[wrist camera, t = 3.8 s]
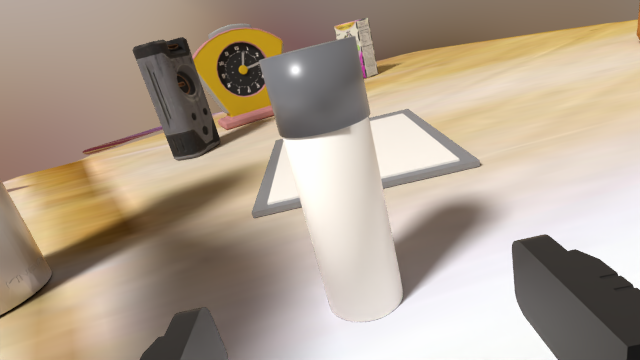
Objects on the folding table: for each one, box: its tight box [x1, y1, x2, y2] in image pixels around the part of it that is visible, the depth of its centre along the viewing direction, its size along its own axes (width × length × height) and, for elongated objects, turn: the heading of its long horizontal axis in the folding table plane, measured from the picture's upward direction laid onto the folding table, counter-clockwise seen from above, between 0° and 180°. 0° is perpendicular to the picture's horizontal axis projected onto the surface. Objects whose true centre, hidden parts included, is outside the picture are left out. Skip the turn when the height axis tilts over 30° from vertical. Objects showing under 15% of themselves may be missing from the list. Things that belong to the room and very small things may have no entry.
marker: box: [259, 36, 403, 322], centre depth 20 cm, size 5×5×14 cm
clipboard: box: [252, 109, 480, 218], centre depth 50 cm, size 22×28×2 cm
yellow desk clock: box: [192, 24, 284, 130], centre depth 91 cm, size 22×9×22 cm, turn 115°
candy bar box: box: [334, 18, 378, 78], centre depth 117 cm, size 11×5×16 cm, turn 34°
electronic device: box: [133, 37, 220, 160], centre depth 70 cm, size 9×6×20 cm, turn 164°
